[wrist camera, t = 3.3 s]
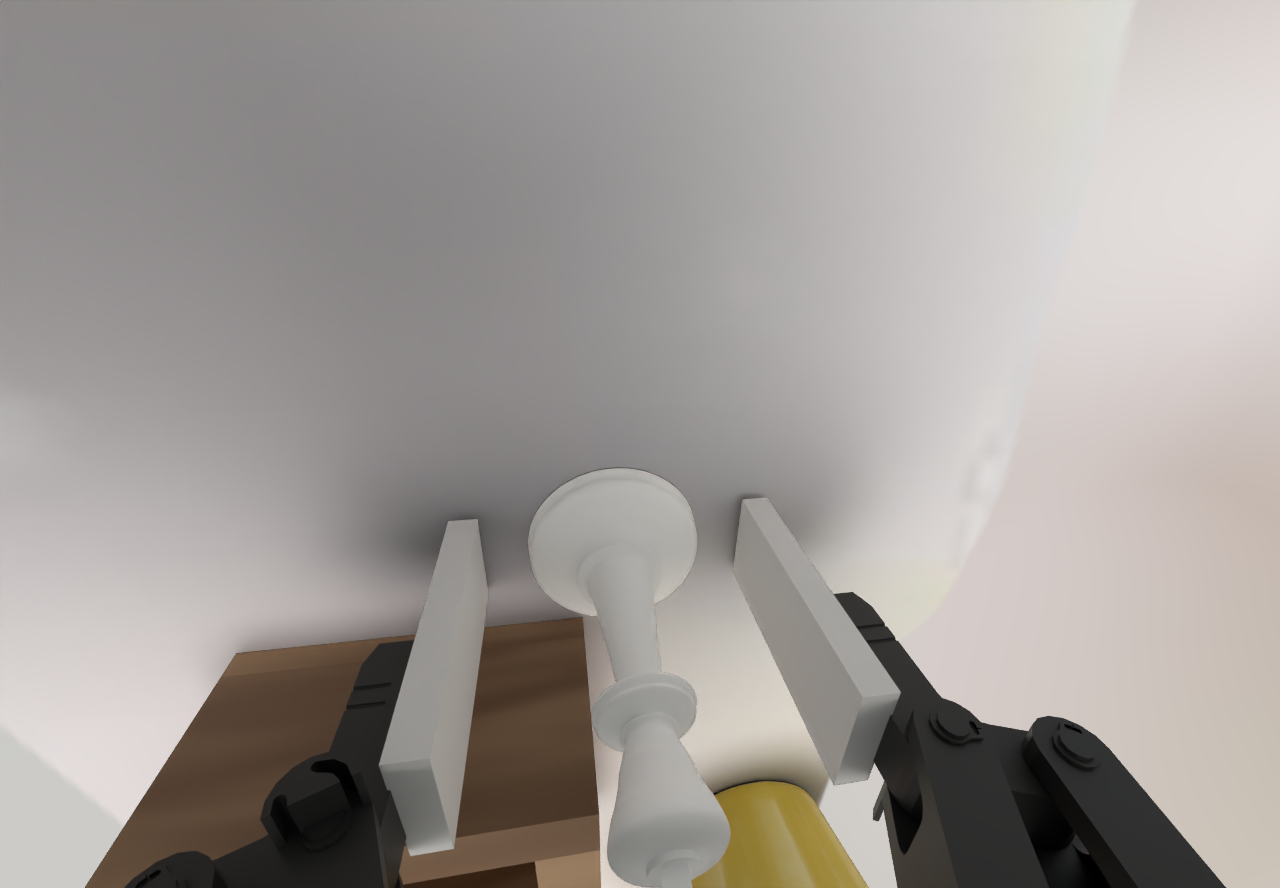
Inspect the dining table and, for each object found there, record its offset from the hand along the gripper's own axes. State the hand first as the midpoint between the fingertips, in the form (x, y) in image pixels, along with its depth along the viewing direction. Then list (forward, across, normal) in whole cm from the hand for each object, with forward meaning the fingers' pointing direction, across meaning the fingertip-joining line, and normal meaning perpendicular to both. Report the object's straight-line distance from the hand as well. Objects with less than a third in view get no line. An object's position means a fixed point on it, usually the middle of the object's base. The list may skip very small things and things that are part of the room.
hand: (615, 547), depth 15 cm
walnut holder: (+1, -6, -8) cm, 10 cm away
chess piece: (+1, 0, 0) cm, 1 cm away
